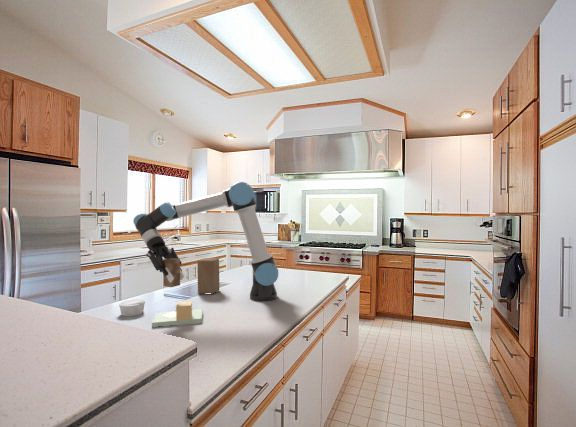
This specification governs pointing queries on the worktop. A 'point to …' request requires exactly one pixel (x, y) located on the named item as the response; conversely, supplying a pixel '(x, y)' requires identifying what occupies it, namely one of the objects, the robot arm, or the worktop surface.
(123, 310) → the ramekin
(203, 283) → the block
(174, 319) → the board
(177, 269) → the pillar
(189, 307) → the cube
